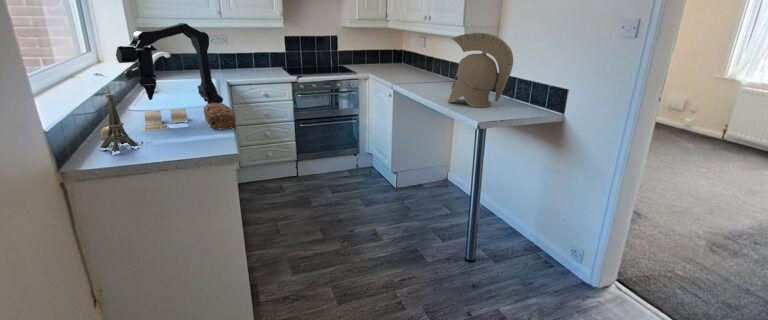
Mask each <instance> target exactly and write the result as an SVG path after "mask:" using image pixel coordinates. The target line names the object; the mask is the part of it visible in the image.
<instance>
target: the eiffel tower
mask: <svg viewBox="0 0 768 320" xmlns="http://www.w3.org/2000/svg"><path fill="white" fill-rule="evenodd" d="M107 85H108V82H107ZM107 89H108V90H107V91H108V93H107V94H105V98H106V99H107V105H108V106H107V107H108V123H106V124H107V126H109V131H108V135H106V136H107V138H106V139H104V141H103V143H102V144H101V145H100V148H107V147H108V148H109V147H110V146H111V143H113V146H112V149H111V152H112V151H114V152H116V151H120V152H121V150H120V145H118V144H120V143H121V144H124V143H128V144H129V145H128V146H130V147H131V146H134V147H135V146H139V144H138V143H137V142H136V141H135V140H133V139H132V138H131V137H130V136H129V134H128V133H127V132H126V130H125V128H124V125H125V124H124V122H121V119H120V117H119V116H120V115H119V113H118V109H117V107H116V104H115V100H114V97H115V95H114V93H111V91H110V87H109V86H107ZM116 129H117V131H116ZM112 130H113V134H112ZM120 130H121V131H120ZM121 132H122V133H121ZM100 148H99V149H100Z"/></svg>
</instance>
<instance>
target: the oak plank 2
mask: <svg viewBox="0 0 768 320" xmlns="http://www.w3.org/2000/svg"><path fill="white" fill-rule="evenodd" d="M187 114H188V112H187V108H178V109H170V115H171V116H170V117H171V124H175V123H176V122H184V123H186V122H185V121H188V122H189V119H188V118H189V117H188V115H187Z"/></svg>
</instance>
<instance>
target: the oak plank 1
mask: <svg viewBox="0 0 768 320" xmlns="http://www.w3.org/2000/svg"><path fill="white" fill-rule="evenodd" d="M143 114H144V125H145V126H151V125H163V119H162V112H161V110H152V111H151V110H150V111H144V113H143Z"/></svg>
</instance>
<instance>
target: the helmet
mask: <svg viewBox="0 0 768 320" xmlns="http://www.w3.org/2000/svg"><path fill="white" fill-rule="evenodd" d="M451 40H452V41H453V42H455V43H456V44H457V45H458V46H459V47H460V49H461V51H462V52H463V53H465V52H472V51H473V52H481V53H470V54H468V55H467V56H466V55H465V57H463V58H461V59H460V61H459V64H458V69H457V72H456V74H455V76H454V80H453V83H452V85H451V92H450V95H449V98H448V99H447V102H448V103H454V102H455V101H457V100H459V99H460V98H462V97H463V99H464V101H465V102H466V104H467V105H469V106H471V107H474V108H486V107H490V106H491V105H492V102H490V101H489V98H490V97H489V96H490V93H491V91H492V90H494V88H495V97H494V101H495V102H496V103H498V101H499V100H500V98H501V97H502V94H503V93H504V90H505V87H506V86H507V83H508V81H509V78H510V76H511V73H512V70H513V66H514V55H513V52H512V49H511V47H510V46H509V45H508V44H507V42H505V41H504V40H503V39H501V38H500V37H498V36H496V35H494V34H490V33H486V32H471V33H464V34H461V35H457V36H454V37H452V38H451ZM489 55H490V56H492V57H493V58H494V59H495V61H496V62H495V61H494V59H493V58H492V57H490V56H489ZM496 64H497V65H496Z"/></svg>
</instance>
